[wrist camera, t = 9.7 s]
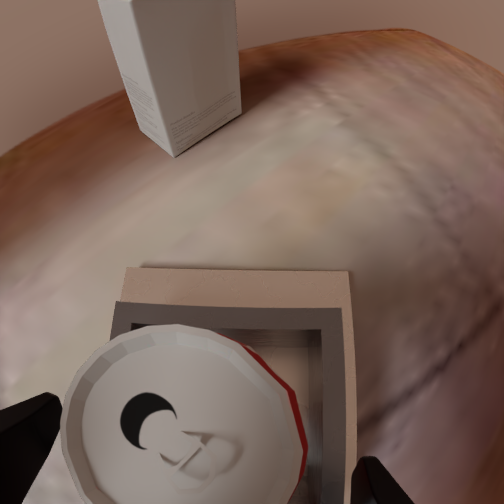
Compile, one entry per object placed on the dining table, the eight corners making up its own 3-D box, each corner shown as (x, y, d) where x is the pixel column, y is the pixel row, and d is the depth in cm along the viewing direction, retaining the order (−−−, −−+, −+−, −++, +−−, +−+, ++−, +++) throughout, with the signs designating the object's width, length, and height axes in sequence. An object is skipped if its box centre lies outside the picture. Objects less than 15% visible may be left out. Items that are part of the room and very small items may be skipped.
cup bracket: (345, 550, 12) (370, 583, 7) (112, 535, 12) (75, 559, 8) (344, 277, 20) (366, 238, 16) (131, 273, 21) (102, 235, 16)
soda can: (299, 417, 15) (382, 422, 5) (234, 490, 13) (193, 608, 3) (220, 356, 17) (158, 253, 7) (156, 426, 15) (5, 425, 5)
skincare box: (205, 94, 30) (188, -39, 17) (245, 116, 28) (239, -37, 15) (136, 134, 28) (92, -8, 14) (172, 164, 25) (128, -7, 12)
